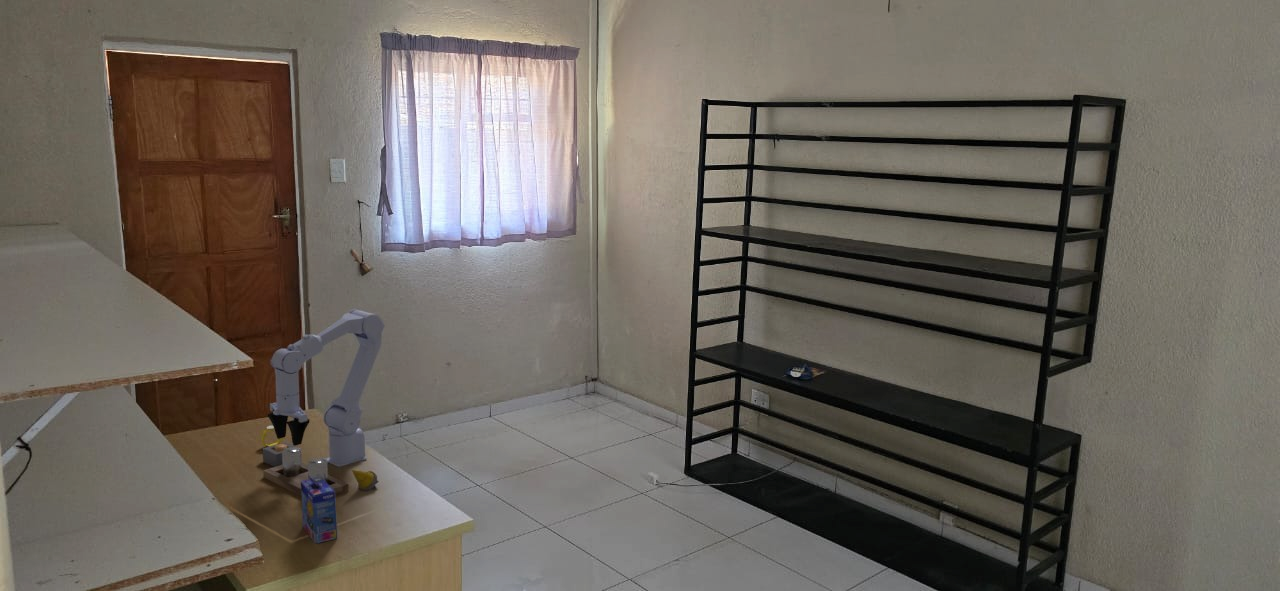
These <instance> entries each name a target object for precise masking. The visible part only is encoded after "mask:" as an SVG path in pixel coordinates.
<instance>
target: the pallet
mask: <svg viewBox="0 0 1280 591" xmlns="http://www.w3.org/2000/svg"><path fill="white" fill-rule="evenodd" d="M262 474H263V478H264V479H265V480H268V481H270V482H272V483H274V484H276V485H277V486H279V487H282V488H284V489H286V490H288V491H290V492H292V493H294V494H296V495H298V496H300V497H302V495H301V482H302V481H305V480H308V464H305V463H303V462H302V474H299V475H296V476H292V477H289V478H288V477H286V476H284V475H283V465H280V466H276V467H273V466H272V467H269V468H266V469H263V473H262ZM328 485H329V486H331V487H332V488H333V489H334V490H335V497H336V496H339V495H342V494H344V493H348V492H349V483H347V482H345V481H344V480H340V479H338V478H336V477H334V476H332V475H330V474H328Z"/></svg>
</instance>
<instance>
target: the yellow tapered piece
mask: <svg viewBox="0 0 1280 591" xmlns="http://www.w3.org/2000/svg"><path fill="white" fill-rule="evenodd" d="M351 472H352V474H353V476H354V478H355V479H356V480H355V481H356V482H357V486H358V488H359V489H360V490H362V491H371V490H372V489H373V488H374V487H375V486H376V485H377V484H378V483H379V480H378V475H377V474H376V473H375V472H374V471H372V470H369V471H362V470H356V469H351Z"/></svg>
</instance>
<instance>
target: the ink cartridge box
mask: <svg viewBox="0 0 1280 591" xmlns="http://www.w3.org/2000/svg"><path fill="white" fill-rule="evenodd" d="M309 478H310V479H311V480H305V481H302V482H301V495H302V496H301V509H302V510H301V512H302V513H301V514H302V516H301V517H302V527H303V528H304V530H305V531H306V532H307V535H308V536H309V538H310V539H311V540H312V541H313V542H314V544H319V543H323V542H327V541H329V542H330V541H332V540H336V539H338V523H337V522H338V521H337V507H336V506H337V505H336V503H337V502H336V496H335V490H334V489H333V488H332V487H331V486H329V485H328V484H327V482H326V481H325V480H324V479H323V478H321V477H320V478H316V479H312V478H311V477H310V476H309Z"/></svg>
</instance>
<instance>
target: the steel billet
mask: <svg viewBox="0 0 1280 591" xmlns="http://www.w3.org/2000/svg"><path fill="white" fill-rule="evenodd" d="M282 462H283V475H284V476H286V477H288V478H289V477H292V476H296V475H299V474H302V463H303V461H302V449H301V448H300V447H297V446H295V447H289V448H285V449H283V450H282Z"/></svg>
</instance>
